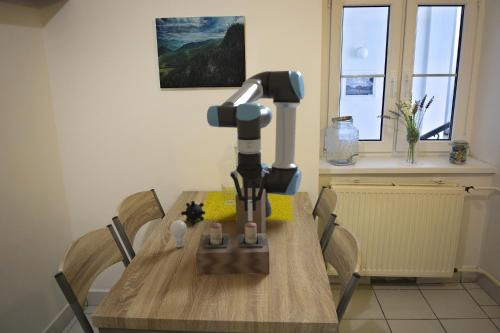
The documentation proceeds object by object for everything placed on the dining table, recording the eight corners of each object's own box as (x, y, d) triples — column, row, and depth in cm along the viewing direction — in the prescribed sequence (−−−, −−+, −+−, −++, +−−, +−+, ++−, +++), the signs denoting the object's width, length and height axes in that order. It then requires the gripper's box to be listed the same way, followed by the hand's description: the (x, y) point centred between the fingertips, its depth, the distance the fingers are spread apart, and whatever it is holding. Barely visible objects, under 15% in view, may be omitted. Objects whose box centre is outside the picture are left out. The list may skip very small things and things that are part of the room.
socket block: (197, 274, 124) (196, 251, 122) (202, 254, 138) (201, 232, 135) (269, 273, 124) (269, 250, 122) (267, 253, 138) (267, 231, 135)
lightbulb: (179, 242, 148) (178, 216, 145) (191, 246, 144) (189, 219, 141) (167, 248, 143) (165, 221, 140) (179, 252, 139) (177, 225, 136)
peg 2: (248, 243, 132) (248, 221, 130) (258, 246, 130) (258, 223, 128) (243, 248, 129) (242, 225, 126) (253, 251, 127) (252, 228, 124)
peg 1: (214, 244, 132) (213, 222, 130) (224, 246, 130) (223, 224, 128) (208, 249, 129) (207, 226, 126) (217, 251, 127) (216, 228, 124)
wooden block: (261, 245, 143) (261, 196, 138) (236, 243, 145) (235, 195, 140) (265, 234, 153) (265, 188, 148) (242, 232, 155) (241, 187, 150)
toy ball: (212, 210, 172) (209, 213, 160) (196, 226, 172) (192, 231, 160) (195, 194, 172) (191, 196, 160) (179, 210, 172) (174, 214, 160)
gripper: (228, 154, 117) (230, 224, 123) (270, 153, 117) (270, 223, 123) (229, 149, 124) (231, 215, 130) (268, 148, 124) (268, 214, 130)
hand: (250, 219), depth 126 cm, fingers closed
